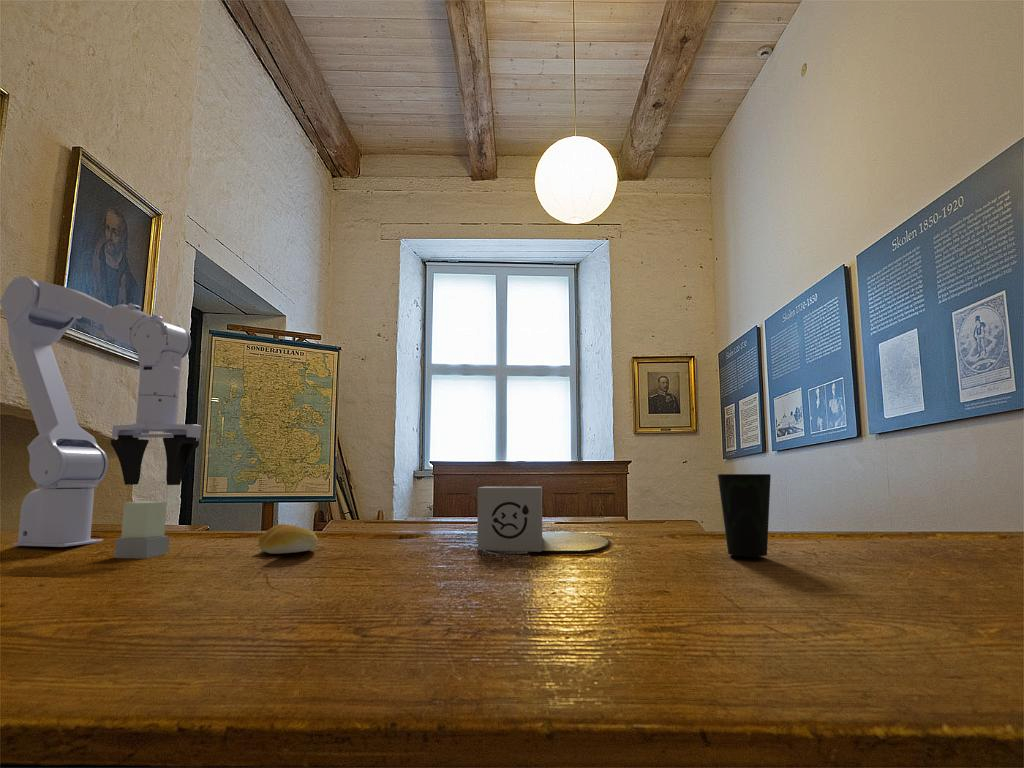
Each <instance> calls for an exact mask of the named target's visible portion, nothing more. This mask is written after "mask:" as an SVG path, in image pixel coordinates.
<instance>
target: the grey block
mask: <svg viewBox="0 0 1024 768" xmlns="http://www.w3.org/2000/svg"><path fill="white" fill-rule="evenodd" d="M169 547H170V535H163V536H156V537H148V538H125V537H117V538H115V547H114V548H115V549H114V558H115V559H146V560H147V559H151V558H157V557H160V556H159V555H162V554H164V553H166V552H168V553H169Z"/></svg>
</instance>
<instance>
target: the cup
mask: <svg viewBox="0 0 1024 768" xmlns="http://www.w3.org/2000/svg"><path fill="white" fill-rule="evenodd" d="M771 477H772V476H771V474H770V473H766V474H765V473H759V474H758V473H748V474H747V473H745V474H744V473H736V474H735V473H725V474H724V473H719V474H717V479H718V486H719V488H718V489H719V495H720V501H721V511H722V517H723V525H724V530H725V532H724V533H725V540H726V547H727V554H728V555H731V556H737V557H739V556H740V557H766V556H767V555H768V545H769V544H768V542H769V541H768V538H769V520H770V519H769V518H770V517H769V516H770V498H771V497H770V496H771V495H770V494H771Z"/></svg>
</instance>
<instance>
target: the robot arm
mask: <svg viewBox="0 0 1024 768" xmlns="http://www.w3.org/2000/svg"><path fill="white" fill-rule="evenodd" d="M0 306H1V309H2V312H3V316H4V318H5V322H6V324H7V328H8V331H7V332H8V344H9V345H8V346H9V347H10V351H11V353H12V354H11V355H12V356H13V359H14V363H15V366H16V369H17V372H18V375H19V379H20V381H21V384H22V387H23V390H24V393H25V396H26V398H27V402H28V405H29V407H30V410H31V411H30V412H31V414H32V417H33V420H34V423H35V426H36V429H37V431H38V435H37V436H36V437H35V438H34V439H33V440H31V442H30V443H29V444H28V445H27V451H28V455H29V463H28V466H29V467H28V469H29V470H28V471H29V475H30V476H31V479H32V480H33V481H34V482H35V483H36V486H35V487H36V489H33V490H31V491H30V492H28V493H27V494H26V495H25V496H24V499H22V503H21V507H20V515H19V516H20V517H19V526H18V527H19V528H18V538H17V542H12V546H14V547H18V546H19V547H21V546H22V547H49V548H50V547H54V548H64V547H74V546H80V545H81V546H83V545H89V544H96V543H100V542H103V541H104V539H103V538H92V537H91V535H92V521H93V511H94V498H95V488H98V487H99V482H101V481H102V480H103V479H104V478H105V476H106V474H107V472H108V468H109V460H108V455H107V454H106V452H105V451H104V450H103V449H102V448H101V447H100V446H99V445H98V443H97V440H96V438H95V436H93V435H92V434H91V433H89V432H88V431H86V430H85V429H84V428H83V427H81V426H80V425H79V422H78V420H77V417H76V413H75V411H74V408H73V405H72V402H71V400H70V397H69V393H68V391H67V389H66V386H65V383H64V378H63V376H62V374H61V370H60V368H59V365H58V363H57V360H56V356H55V354H54V351H53V348H52V344H53V343H55V342H58V341H60V339H61V338H62V337H63V335H64V334H66V332H67V331H68V330H69V329H70V328H71V326H72V325H73V324H74V322H75V321H76V320H81V319H82V318H86V319H89V320H91V321H94V322H96V323H99V324H101V325H102V326H103V331H104V332H105V333H106V335H107V336H108V337H110V338H113V339H114V340H117V341H119V342H122V343H123V344H126V345H128V346H130V347H133V348H134V349H135V350H136V352H137V363H138V365H139V366H140V367H139V378H138V379H139V380H138V393H137V406H136V417H135V418H136V419H135V420H136V421H135V423H132V424H118V425H117V424H116V425H114V424H113V425H112V431H111V438H113V439H111V440H110V445H111V446H112V448H113V450H114V451H115V454H116V456H117V458H118V461H119V464H120V467H121V472H122V477H123V483H124V485H128V486H129V485H132V486H133V485H137V486H138V485H139V482H140V478H141V470H142V463H143V458H144V455H145V452H146V449H147V448H148V447H147V446H148V444H149V441H150V440H149V438H153V439H155V438H162V442H163V445H164V450H165V457H166V476H165V477H166V479H165V480H166V485H167V486H180V485H181V482H182V479H183V477H184V476H183V475H184V473H185V471H186V469H187V466H188V463H189V461H190V459H191V457H192V456H193V453H194V452H195V451H196V450H197V448H198V447H199V445H200V440H195V438H196V439H197V438H199V439H200V438H201V434H202V433H201V430H202V425H199V424H192V423H191V424H189V423H188V424H183V423H181V424H178V417H179V416H178V415H179V413H178V412H179V401H180V400H179V399H180V388H181V375H182V374H181V373H182V371H181V370H182V359H183V358H184V357H186V356H187V354H188V353H189V352H190V349H191V345H192V339H191V334H190V333H189V332H188V330H187V329H185V328H184V327H183V326H182V325H181V324H171V323H169V322H167V321H166V322H165V321H163V320H164V318H163V317H162V316H161V315H158V314H152V315H151V314H148V313H146V312H144V311H141V310H142V307H141V306H139V305H137V304H134V303H130V302H129V303H128V304H125V303H124V304H122V303H121V304H117V305H115V306H111V305H109V304H107V303H105V302H103V301H101V300H99V299H97V298H94V297H93V296H91V295H89V294H87V293H85V292H82V291H79V290H77V289H73V288H69V287H65V286H64V285H63V286H62V285H57V284H56V283H55V284H54V283H51V282H50V283H49V282H46V281H42V280H35V279H32V278H31V277H28V276H26V275H25V276H18V277H15V278H14V279H12V280H11V281H10V282H9V284H8V285H7V286H6V288H5V290H4V292H3V295H2V296H1V299H0ZM150 432H157V433H155V434H153V433H150ZM158 432H163V433H160V434H159V433H158ZM143 438H144V439H143ZM145 438H147V439H145Z"/></svg>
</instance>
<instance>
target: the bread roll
mask: <svg viewBox="0 0 1024 768" xmlns="http://www.w3.org/2000/svg"><path fill="white" fill-rule="evenodd" d="M318 542H319V539H318V536H317V534H316V533H315V531H313V530H311V529H308V528H305V527H299V526H296V525H292V524H284V523H283V524H282V523H281V524H278V525H277V524H276V525H275V526H272V527H270V528H269V529H268V530H266V532H264V533H263V534H262V535H261V536H260V537H259V539H258V542H257V545H258V548H259V549H260V551H261V552H262V551H263V553H268V554H269V555H270V554H271V555H272V554H273V555H274V554H276V555H279V554H291V553H301V552H307V551H312V550H314V549H316V548H317V547H318Z"/></svg>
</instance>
